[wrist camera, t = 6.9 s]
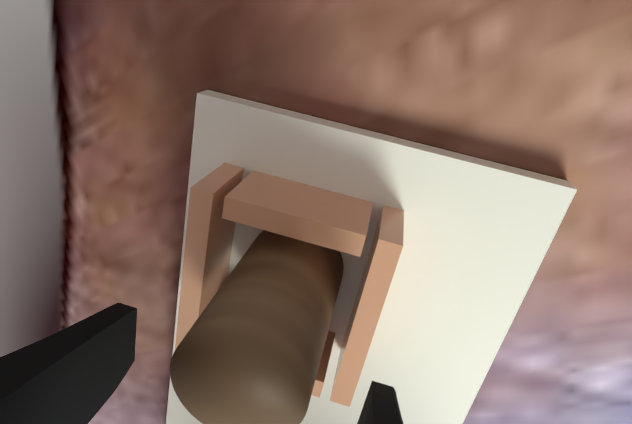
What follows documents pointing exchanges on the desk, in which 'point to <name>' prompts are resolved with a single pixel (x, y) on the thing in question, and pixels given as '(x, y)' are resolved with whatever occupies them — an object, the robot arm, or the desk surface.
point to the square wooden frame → (299, 223)
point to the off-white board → (417, 253)
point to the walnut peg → (260, 336)
